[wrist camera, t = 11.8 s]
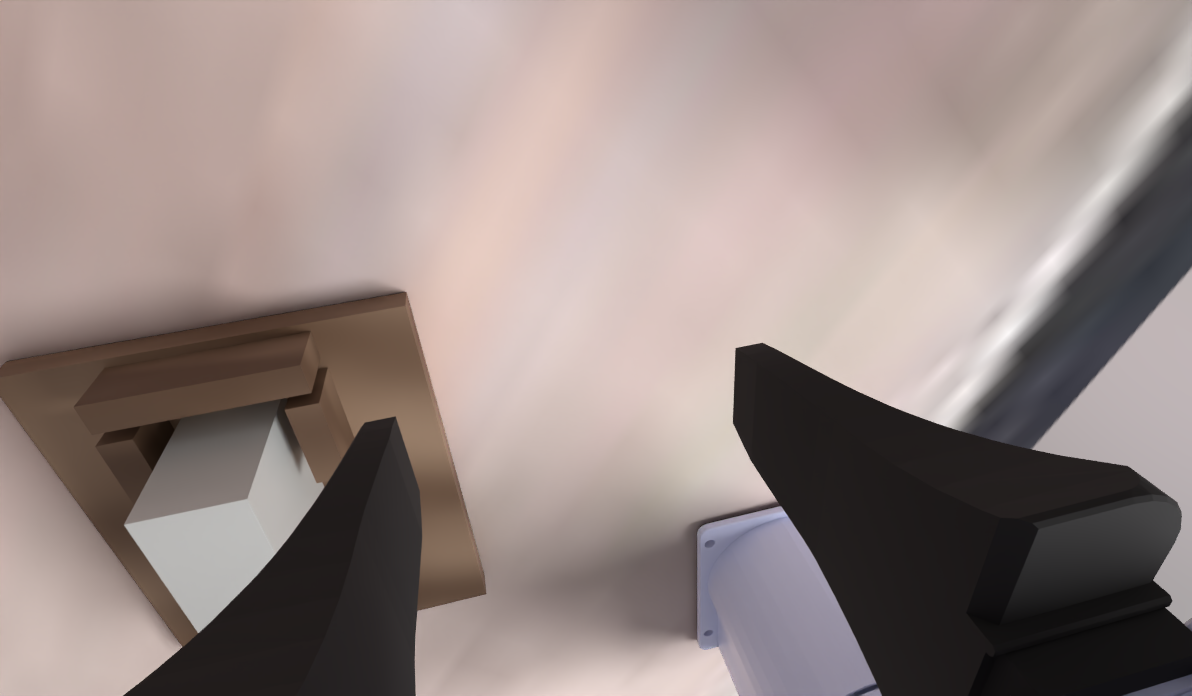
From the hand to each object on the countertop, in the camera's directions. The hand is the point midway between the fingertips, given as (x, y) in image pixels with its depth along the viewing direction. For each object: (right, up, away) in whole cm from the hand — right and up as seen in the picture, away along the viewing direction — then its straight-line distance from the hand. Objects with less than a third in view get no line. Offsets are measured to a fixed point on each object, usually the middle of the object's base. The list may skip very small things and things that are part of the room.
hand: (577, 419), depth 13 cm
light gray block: (-11, -4, +10) cm, 15 cm away
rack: (-11, -4, +11) cm, 16 cm away
